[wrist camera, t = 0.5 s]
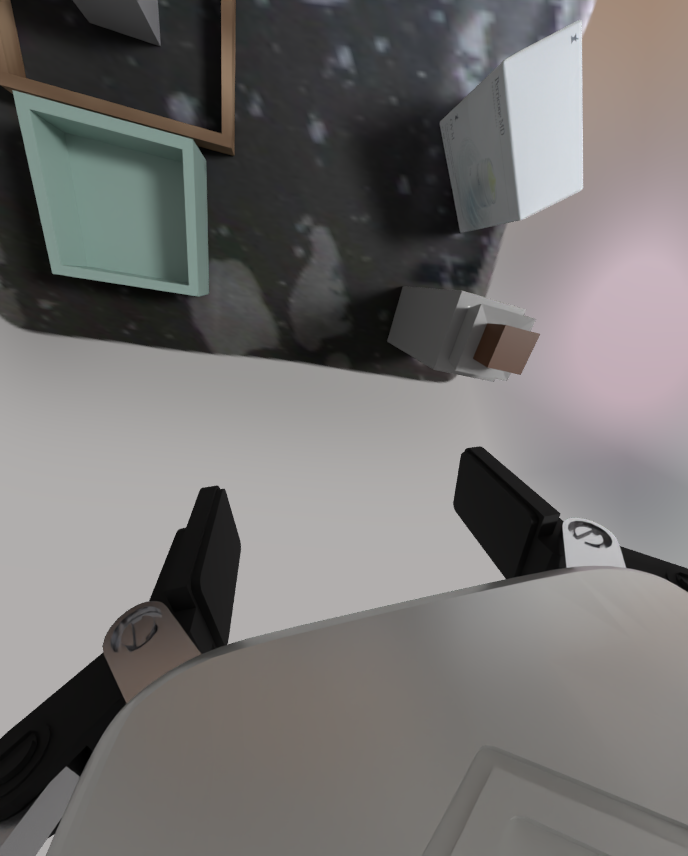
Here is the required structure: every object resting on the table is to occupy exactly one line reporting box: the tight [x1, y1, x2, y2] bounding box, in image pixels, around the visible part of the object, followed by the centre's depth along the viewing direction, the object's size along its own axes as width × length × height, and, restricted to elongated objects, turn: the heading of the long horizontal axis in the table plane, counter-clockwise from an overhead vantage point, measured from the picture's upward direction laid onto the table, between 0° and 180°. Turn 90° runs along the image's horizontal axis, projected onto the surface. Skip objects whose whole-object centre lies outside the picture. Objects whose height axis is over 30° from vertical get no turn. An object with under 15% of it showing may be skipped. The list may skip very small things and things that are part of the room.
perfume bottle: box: [387, 286, 540, 382], centre depth 31 cm, size 7×7×18 cm
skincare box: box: [440, 20, 583, 233], centre depth 28 cm, size 10×6×10 cm, turn 24°
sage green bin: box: [12, 90, 209, 297], centre depth 27 cm, size 12×12×5 cm
